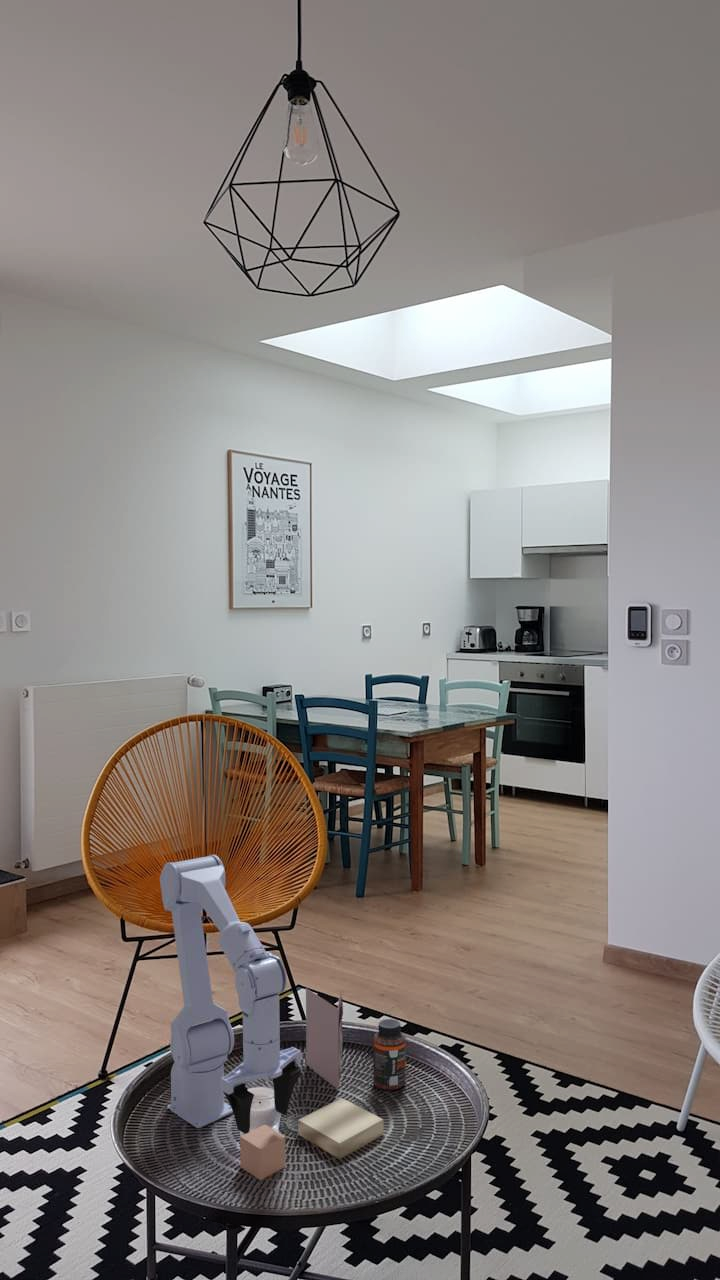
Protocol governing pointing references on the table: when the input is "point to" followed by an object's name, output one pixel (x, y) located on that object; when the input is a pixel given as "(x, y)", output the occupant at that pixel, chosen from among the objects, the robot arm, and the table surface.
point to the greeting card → (324, 1037)
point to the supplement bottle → (389, 1056)
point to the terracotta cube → (262, 1152)
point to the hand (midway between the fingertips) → (262, 1121)
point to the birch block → (340, 1127)
